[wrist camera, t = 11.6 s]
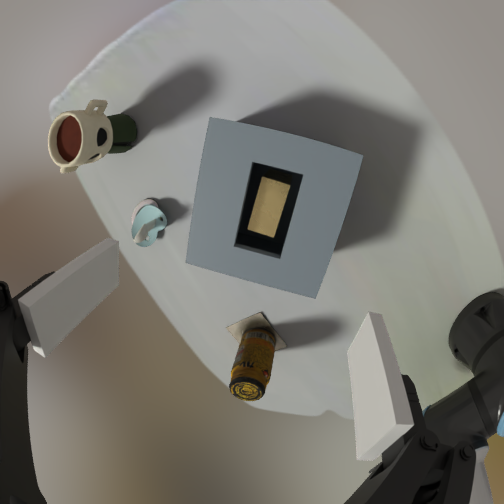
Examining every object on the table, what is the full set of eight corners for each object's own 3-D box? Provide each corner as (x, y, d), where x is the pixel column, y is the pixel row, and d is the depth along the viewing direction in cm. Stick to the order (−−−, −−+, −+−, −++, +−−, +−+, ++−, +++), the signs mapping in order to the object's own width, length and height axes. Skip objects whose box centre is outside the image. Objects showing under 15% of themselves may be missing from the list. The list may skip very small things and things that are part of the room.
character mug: (122, 173, 40) (66, 192, 28) (94, 150, 39) (37, 162, 28) (155, 114, 36) (100, 112, 24) (124, 93, 35) (67, 87, 23)
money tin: (345, 150, 34) (363, 155, 24) (312, 258, 41) (315, 298, 31) (235, 122, 35) (209, 117, 25) (213, 231, 42) (185, 262, 32)
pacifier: (127, 222, 44) (152, 246, 45) (105, 234, 38) (132, 261, 39) (149, 189, 41) (176, 215, 42) (126, 197, 35) (156, 227, 36)
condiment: (253, 358, 50) (241, 408, 39) (226, 327, 48) (206, 376, 37) (287, 345, 48) (281, 398, 37) (260, 311, 46) (247, 362, 35)
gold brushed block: (292, 175, 36) (290, 185, 28) (279, 217, 38) (273, 237, 31) (270, 168, 36) (262, 176, 28) (257, 210, 38) (247, 229, 31)
